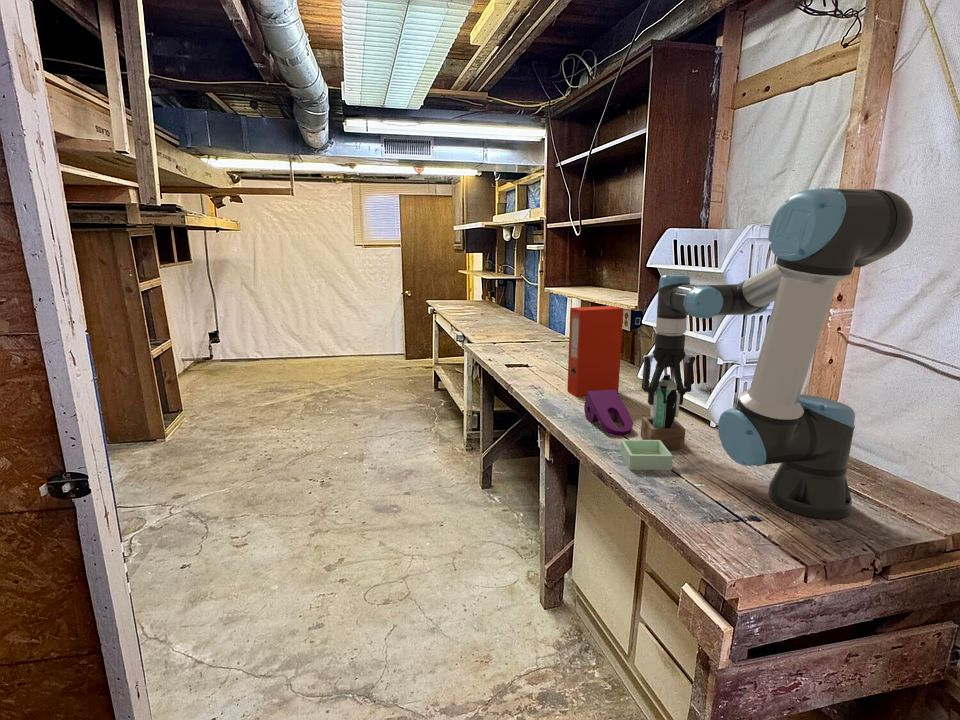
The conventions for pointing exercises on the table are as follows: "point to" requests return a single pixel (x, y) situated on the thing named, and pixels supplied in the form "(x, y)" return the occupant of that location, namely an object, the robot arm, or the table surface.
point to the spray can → (665, 403)
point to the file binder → (594, 349)
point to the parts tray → (646, 455)
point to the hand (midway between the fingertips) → (664, 415)
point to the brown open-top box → (664, 434)
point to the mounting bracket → (608, 411)
